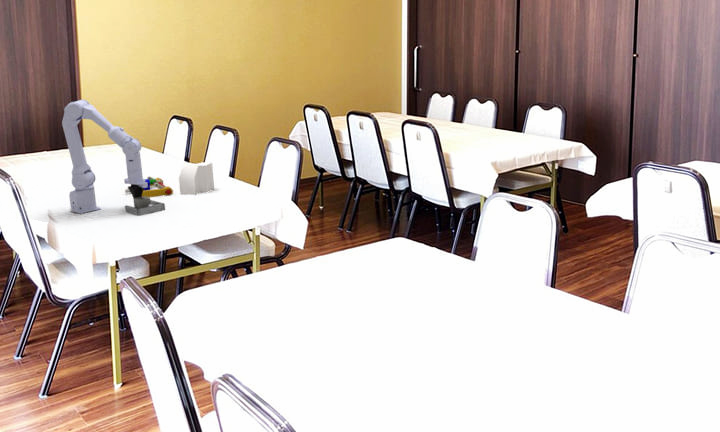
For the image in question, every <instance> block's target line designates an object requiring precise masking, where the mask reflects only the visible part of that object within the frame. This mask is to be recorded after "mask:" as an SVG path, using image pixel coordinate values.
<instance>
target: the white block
mask: <svg viewBox="0 0 720 432" xmlns="http://www.w3.org/2000/svg"><path fill="white" fill-rule="evenodd" d="M181 167H182V168H181V170H180V173H179V175H178V176H179V177H178V183H179V192H180V193H179V194H180V195H187V194H196V195H198V194H200V193H206V192H208V191H210V190H212V189H214V190H215V184H214V183H215V180H214V179H215V178H214V171H213V162H199V163H185V164H183V165H182V166H181ZM212 191H213V190H212ZM199 192H200V193H199ZM210 192H211V191H210ZM197 193H198V194H197ZM208 193H209V192H208Z"/></svg>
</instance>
